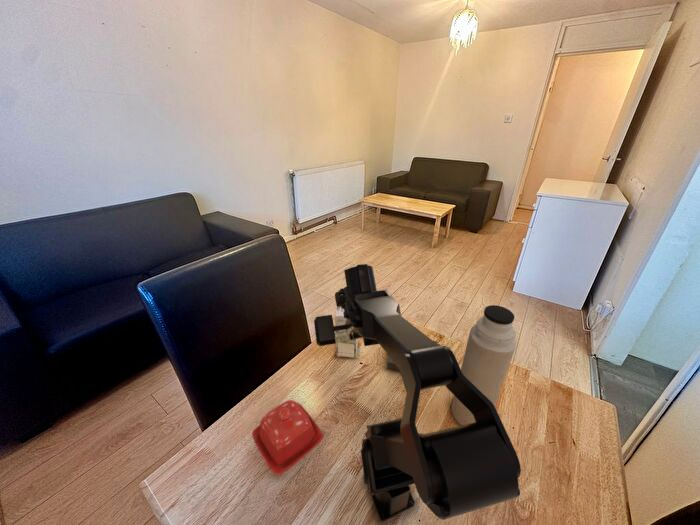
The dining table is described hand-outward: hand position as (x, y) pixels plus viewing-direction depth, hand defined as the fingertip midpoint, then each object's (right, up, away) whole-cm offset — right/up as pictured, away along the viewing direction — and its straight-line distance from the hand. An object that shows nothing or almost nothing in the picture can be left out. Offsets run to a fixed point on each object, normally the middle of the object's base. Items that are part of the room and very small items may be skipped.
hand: (351, 329), depth 71 cm
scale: (+17, -10, +7) cm, 21 cm away
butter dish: (-13, -20, -12) cm, 27 cm away
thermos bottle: (+27, -17, -7) cm, 33 cm away
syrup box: (-1, -9, +10) cm, 13 cm away
